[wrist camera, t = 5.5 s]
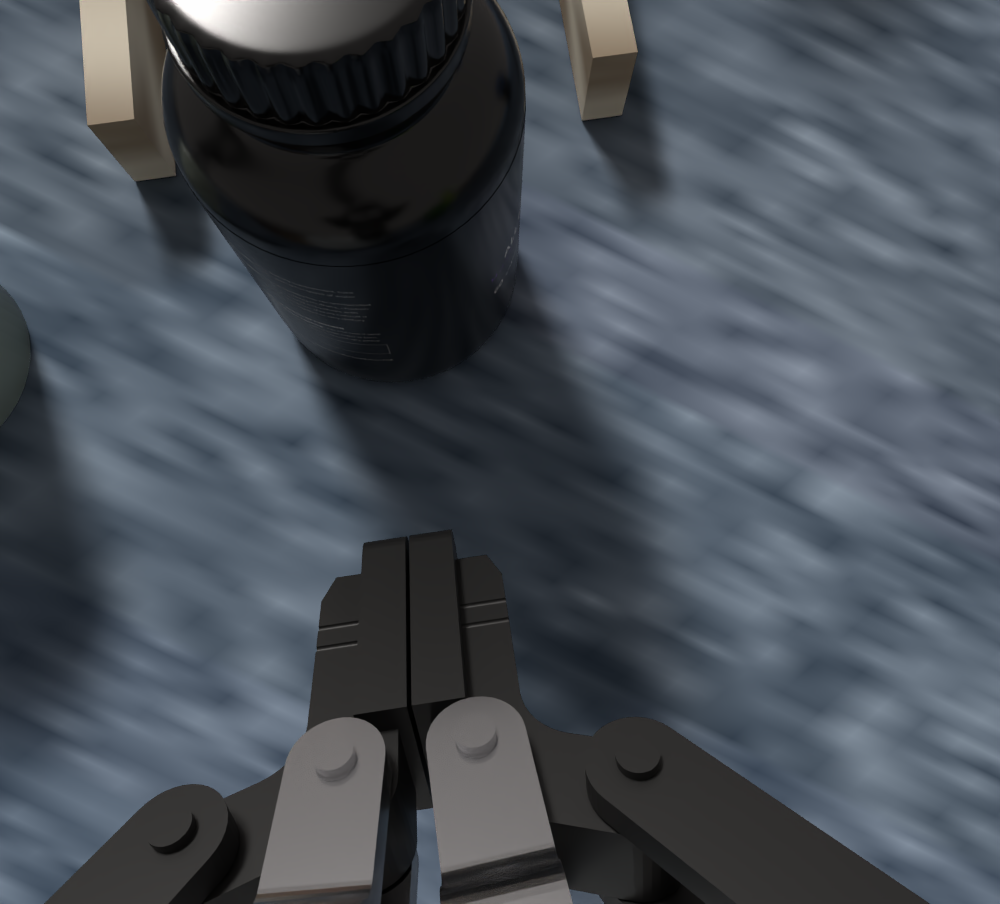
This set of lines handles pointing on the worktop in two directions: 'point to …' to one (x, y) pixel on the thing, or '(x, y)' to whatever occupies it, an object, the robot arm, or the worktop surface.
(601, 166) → the worktop surface
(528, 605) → the worktop surface
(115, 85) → the u-shaped wooden frame
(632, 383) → the worktop surface
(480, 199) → the supplement bottle
